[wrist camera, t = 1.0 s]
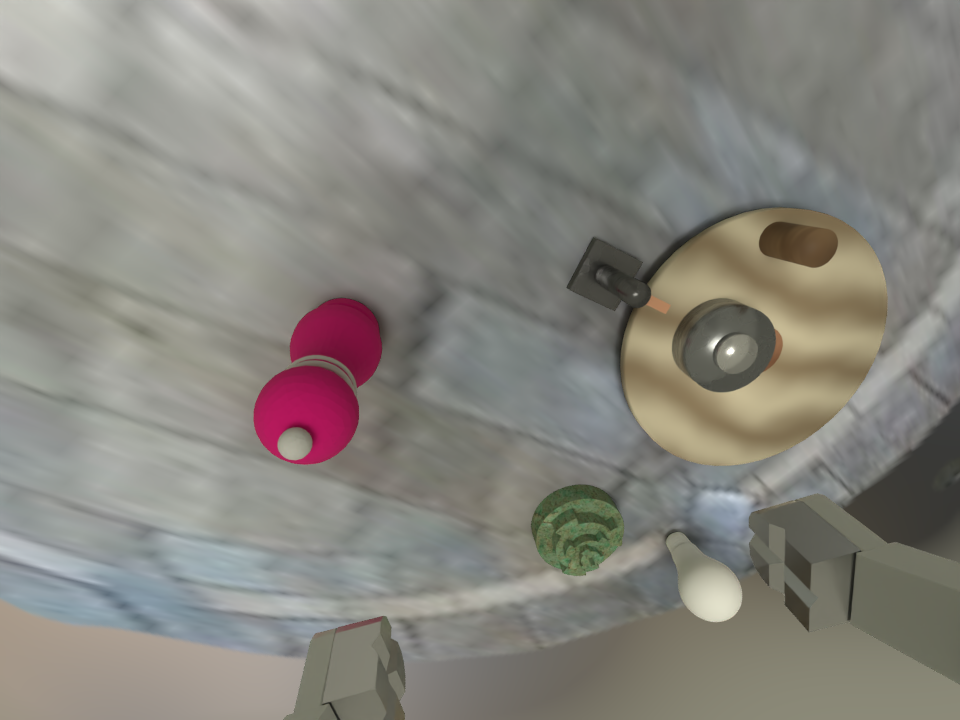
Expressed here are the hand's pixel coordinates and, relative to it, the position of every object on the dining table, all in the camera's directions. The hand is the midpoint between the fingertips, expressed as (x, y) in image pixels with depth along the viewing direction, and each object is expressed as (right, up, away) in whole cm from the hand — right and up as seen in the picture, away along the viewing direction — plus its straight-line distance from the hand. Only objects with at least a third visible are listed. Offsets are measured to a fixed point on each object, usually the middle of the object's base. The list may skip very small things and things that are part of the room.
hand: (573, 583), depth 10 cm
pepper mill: (-14, +8, +33) cm, 37 cm away
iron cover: (+20, +7, +34) cm, 40 cm away
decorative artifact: (+9, -14, +45) cm, 48 cm away
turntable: (+24, +6, +37) cm, 44 cm away
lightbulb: (+21, -16, +48) cm, 55 cm away
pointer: (+9, +13, +34) cm, 38 cm away
